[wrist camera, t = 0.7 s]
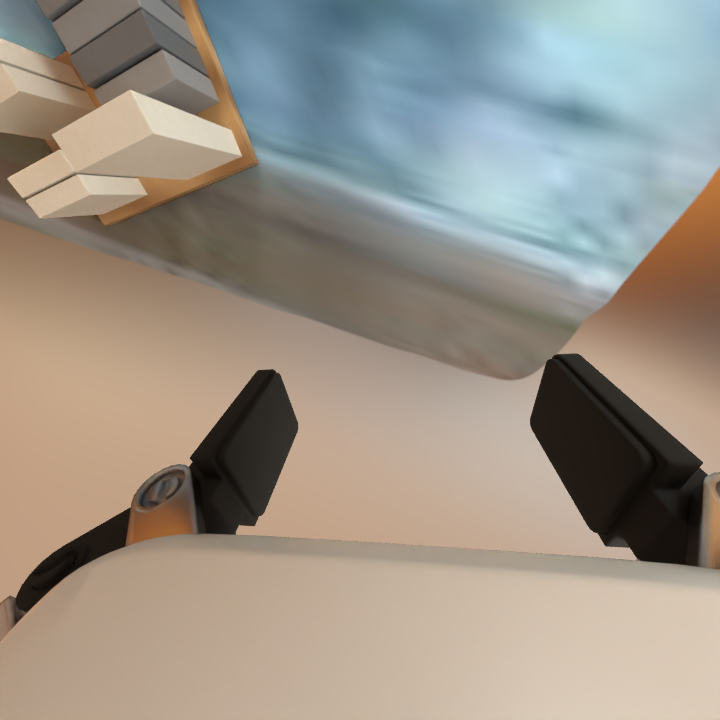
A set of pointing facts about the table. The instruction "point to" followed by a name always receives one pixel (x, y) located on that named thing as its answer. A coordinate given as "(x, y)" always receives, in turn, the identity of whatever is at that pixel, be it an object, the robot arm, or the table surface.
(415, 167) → the table surface
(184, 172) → the white book
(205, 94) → the grey books
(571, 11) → the table surface
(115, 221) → the shelf board
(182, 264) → the table surface
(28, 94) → the white books
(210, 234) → the table surface
